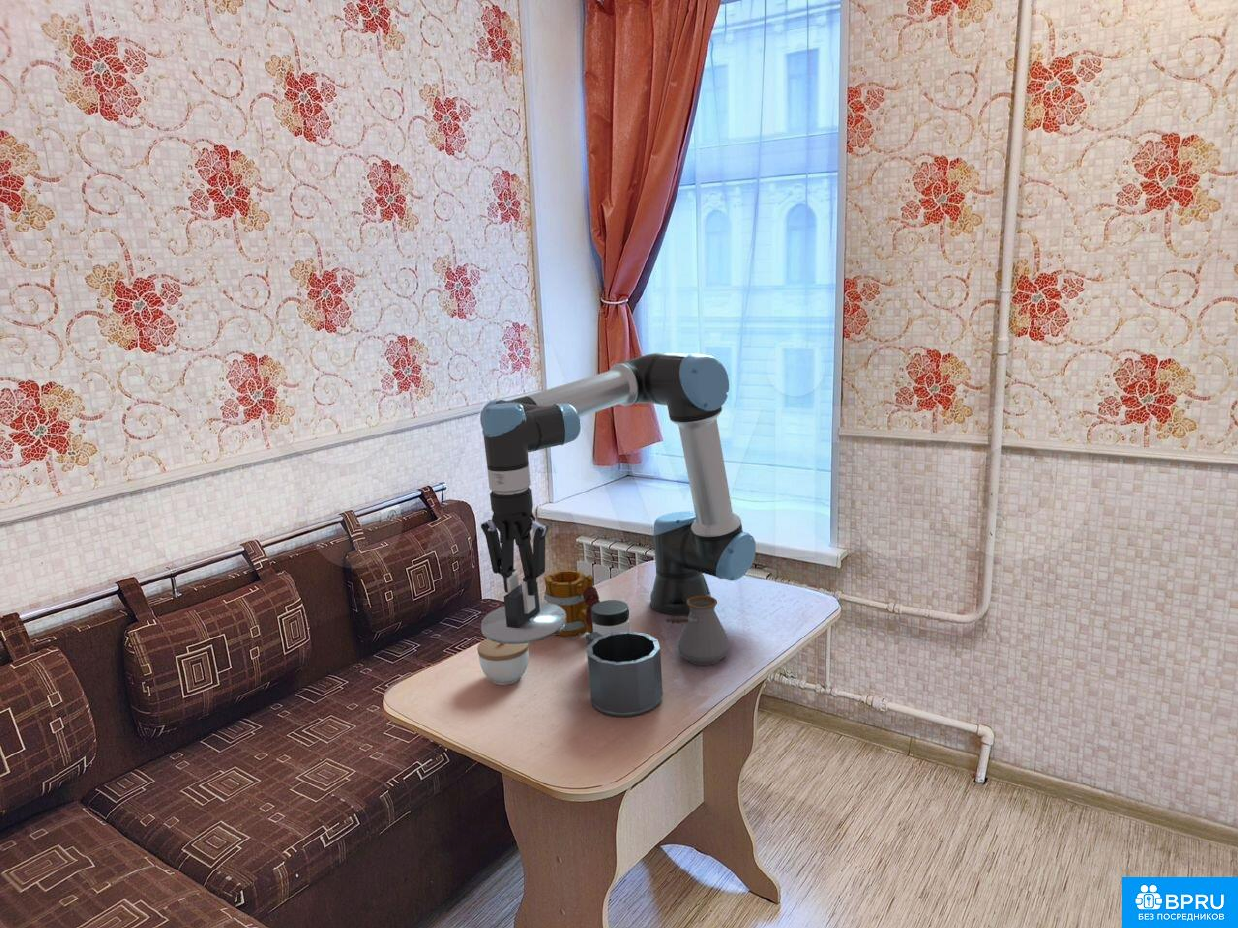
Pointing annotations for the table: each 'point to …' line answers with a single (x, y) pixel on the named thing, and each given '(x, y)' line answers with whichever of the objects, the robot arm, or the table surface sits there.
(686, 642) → the coffee pot
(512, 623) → the lid
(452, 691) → the table surface
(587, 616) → the mug
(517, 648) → the lidded jar
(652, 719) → the table surface
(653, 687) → the pot
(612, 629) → the jar
